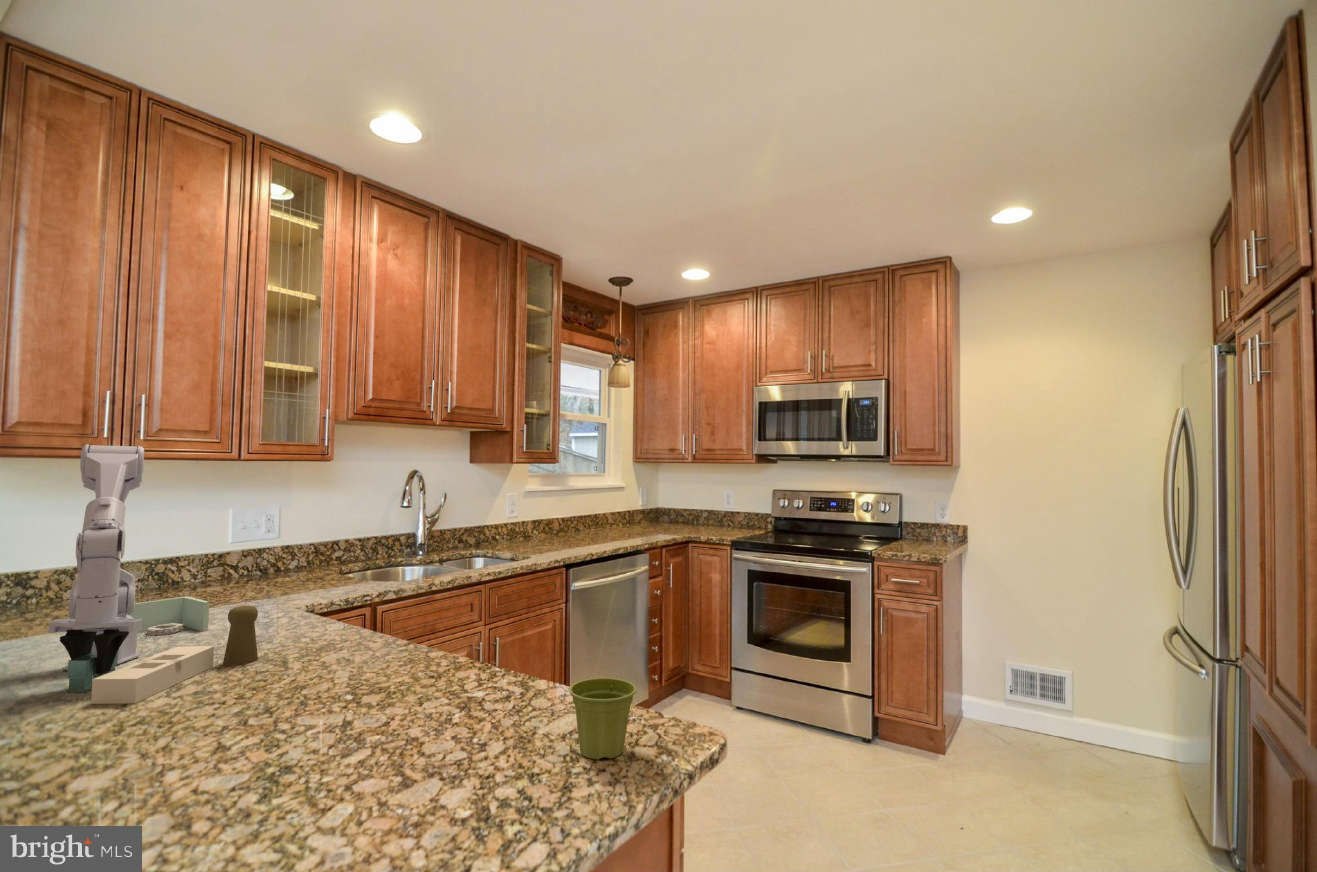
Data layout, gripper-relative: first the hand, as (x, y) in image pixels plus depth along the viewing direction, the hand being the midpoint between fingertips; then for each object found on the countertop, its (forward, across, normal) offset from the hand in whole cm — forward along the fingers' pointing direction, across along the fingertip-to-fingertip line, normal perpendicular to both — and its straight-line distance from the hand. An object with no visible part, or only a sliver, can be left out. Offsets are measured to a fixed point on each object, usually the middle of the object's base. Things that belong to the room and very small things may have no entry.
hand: (92, 672), depth 113 cm
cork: (+3, +17, +15) cm, 23 cm away
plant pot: (+3, +92, -30) cm, 97 cm away
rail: (+2, +10, +1) cm, 11 cm away
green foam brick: (+2, 0, 0) cm, 2 cm away
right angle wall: (+3, -14, +39) cm, 42 cm away
